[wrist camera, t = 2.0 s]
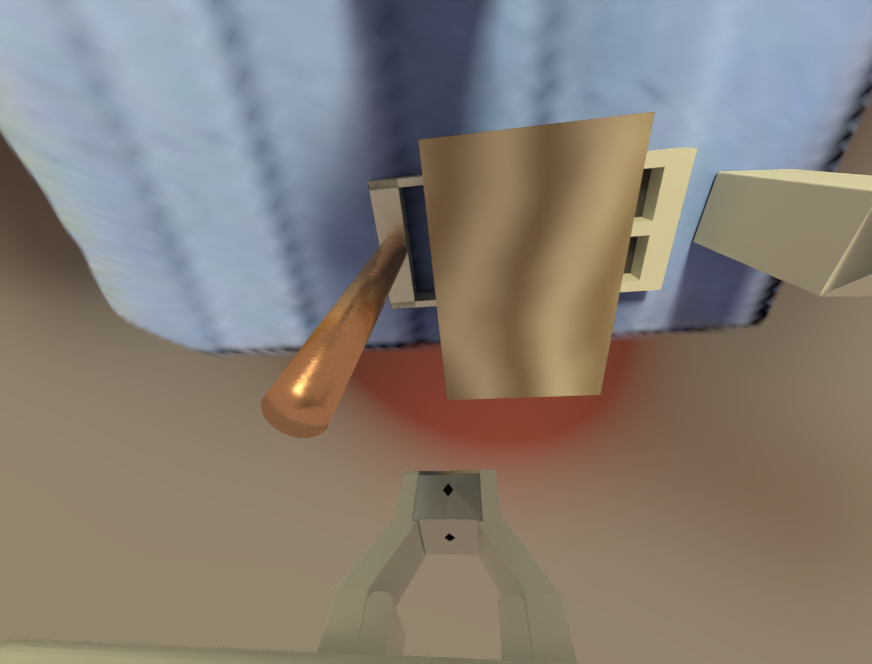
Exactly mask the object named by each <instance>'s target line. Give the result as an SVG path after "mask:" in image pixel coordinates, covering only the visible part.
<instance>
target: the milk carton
mask: <svg viewBox="0 0 872 664" xmlns="http://www.w3.org/2000/svg"><path fill="white" fill-rule="evenodd" d="M693 242H694V243H696V244H699V245H701V246H703V247H706V248H708V249H710V250H713V251H715V252H717V253H720V254H722V255H724V256H727V257H729V258H731V259H734V260H736V261H738V262H741V263H743V264H745V265H748V266H750V267H752V268H755V269H757V270H759V271H762V272H764V273H766V274H769V275H771V276H773V277H776V278H778V279H780V280H783V281H785V282H787V283H790V284H792V285H794V286H797V287H799V288H802V289H804V290H806V291H809V292H811V293H813V294H816V295H818V296H872V176H869V175H856V174H845V173H832V172H820V171H808V170H796V169H778V170H749V171H722V172H718V174H717V176H716V179H715V182H714V185H713V187H712V190H711V193H710V196H709V199H708V201H707V204H706V207H705V210H704V213H703V215H702V218H701V221H700V224H699V227H698V230H697V232H696V235H695V238H694V241H693Z"/></svg>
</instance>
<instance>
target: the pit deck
mask: <svg viewBox="0 0 872 664" xmlns="http://www.w3.org/2000/svg"><path fill="white" fill-rule="evenodd" d="M696 152H697V148H682V147H681V148H672V149H663V150H653V151H647V154H646V159H645V165H644V170H643V175H642V180H641V185H640V190H639V196H638V201H637V206H636V211H635V216H634V222H633V227H632V232H631V237H630V242H629V247H628V253H627V258H626V263H625V268H624V273H623V279H622V284H621V289H620V292H632V291H648V290H661V287H662V283H663V279H664V275H665V271H666V267H667V264H668V260H669V256H670V252H671V248H672V244H673V240H674V237H675V233H676V229H677V225H678V221H679V217H680V213H681V209H682V206H683V202H684V198H685V194H686V190H687V186H688V182H689V179H690V175H691V171H692V167H693V163H694V159H695V155H696Z"/></svg>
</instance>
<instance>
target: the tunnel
mask: <svg viewBox="0 0 872 664" xmlns="http://www.w3.org/2000/svg"><path fill="white" fill-rule="evenodd" d="M654 113H655V112H649V113H640V114H632V115H623V116H615V117H606V118H598V119H590V120H581V121H573V122H564V123H556V124H547V125H539V126H530V127H522V128H513V129H505V130H497V131H488V132H480V133H471V134H463V135H454V136H446V137H437V138H429V139H420V140H419V150H420V159H421V168H422V177H423V186H424V195H425V204H426V213H427V222H428V231H429V241H430V250H431V259H432V268H433V277H434V286H435V295H436V304H437V313H438V323H439V332H440V341H441V350H442V358H443V367H444V377H445V386H446V395H447V400H458V399H488V398H517V397H546V396H575V395H600V392H601V387H602V382H603V377H604V372H605V367H606V361H607V356H608V351H609V346H610V341H611V336H612V330H613V325H614V320H615V315H616V310H617V304H618V299H619V294H620V289H621V284H622V279H623V273H624V268H625V263H626V258H627V253H628V247H629V242H630V237H631V232H632V227H633V222H634V216H635V211H636V206H637V201H638V196H639V190H640V185H641V180H642V175H643V170H644V165H645V159H646V154H647V149H648V144H649V139H650V133H651V128H652V123H653V118H654Z"/></svg>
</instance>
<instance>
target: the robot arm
mask: <svg viewBox="0 0 872 664" xmlns="http://www.w3.org/2000/svg"><path fill="white" fill-rule="evenodd" d="M425 554H467V555H479V557H480V558H481V560H482V562H483V564H484V566H485V568H486V569H487V571H488V573H489V575H490V577H491V578H492V580H493V582H494V584H495V586H496V587H497V589H498V591H499V593H500V595H501V597H500V598H499V600H498V644H499V657H500V658H499V659H500V660H491V659H468V658H448V657H425V656H404V647H405V637H406V636H405V633H404V630H403V627H402V624H401V621H400V618H399V616H398V613H397V610H396V606H397V604H398V603H399V601H400V599H401V597H402V596H403V594H404V592H405V590H406V589H407V587H408V585H409V584H410V582H411V580H412V578H413V577H414V575H415V573H416V571H417V570H418V568H419V566H420V564H421V563H422V561H423V559H424V558H425ZM0 664H580V663H577V661H576V656H575V652H574V648H573V643H572V639H571V635H570V630H569V626H568V621H567V617H566V613H565V608H564V604H563V600H562V595H561V594H560V592H559V591H558V590H557V588H556V587H555V586H554V584H553V583H552V582H551V580H550V579H549V578H548V576H547V575H546V574H545V572H544V571H543V569H542V568H541V567H540V565H539V564H538V563H537V561H536V560H535V559H534V557H533V556H532V555H531V553H530V552H529V551H528V549H527V548H526V547H525V545H524V544H523V543H522V541H521V540H520V539H519V537H518V536H517V535H516V533H515V532H514V531H513V529H512V528H511V527H510V525H509V524H508V522H507V521H501V513H500V505H499V496H498V487H497V478H496V472H495V470H480V471H479V470H457V471H405V472H404V474H403V476H402V482H401V487H400V493H399V499H398V505H397V511H396V517H395V520H391V521H389V523H388V524H387V525H386V527H385V528H384V529H383V530H382V532H381V533H380V534H379V535H378V536H377V538H376V539H375V540H374V541H373V543H372V544H371V545H370V546H369V548H368V549H367V550H366V551H365V553H364V554H363V555H362V556H361V558H360V559H359V560H358V561H357V562H356V564H355V565H354V566H353V567H352V569H351V570H350V571H349V573H348V574H347V575H346V576H345V578H344V579H343V580H342V581H341V582H340V584H339V585H338V586H337V587H336V589H335V592H334V595H333V599H332V603H331V606H330V610H329V613H328V617H327V620H326V624H325V628H324V631H323V634H322V638H321V642H320V645H319V649H318V652H315V651H314V652H313V651H292V650H270V649H248V648H247V649H246V648H226V647H204V646H182V645H158V644H137V643H116V642H92V641H67V640H47V639H30V638H16V639H9V640H6V641H3V642H1V643H0Z"/></svg>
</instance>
